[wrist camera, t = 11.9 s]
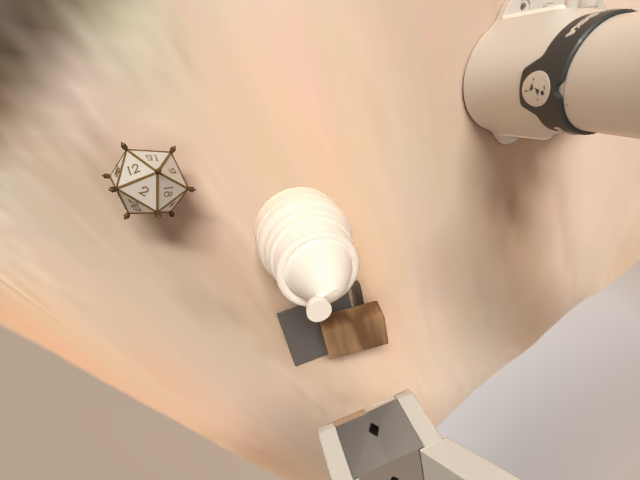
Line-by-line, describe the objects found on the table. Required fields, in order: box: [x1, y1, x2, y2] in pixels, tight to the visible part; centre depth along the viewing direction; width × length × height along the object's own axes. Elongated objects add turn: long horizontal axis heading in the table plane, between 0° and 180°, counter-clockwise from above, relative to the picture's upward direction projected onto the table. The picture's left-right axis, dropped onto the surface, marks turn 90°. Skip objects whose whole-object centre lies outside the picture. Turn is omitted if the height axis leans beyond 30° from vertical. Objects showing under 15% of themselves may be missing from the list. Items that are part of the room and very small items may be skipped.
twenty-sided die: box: [102, 142, 196, 220], centre depth 38 cm, size 9×8×10 cm
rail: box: [352, 280, 364, 306], centre depth 58 cm, size 1×14×1 cm, turn 14°
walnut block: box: [320, 301, 388, 359], centre depth 56 cm, size 4×6×10 cm
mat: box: [277, 291, 351, 366], centre depth 58 cm, size 12×12×1 cm
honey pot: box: [254, 187, 359, 322], centre depth 41 cm, size 13×13×18 cm
